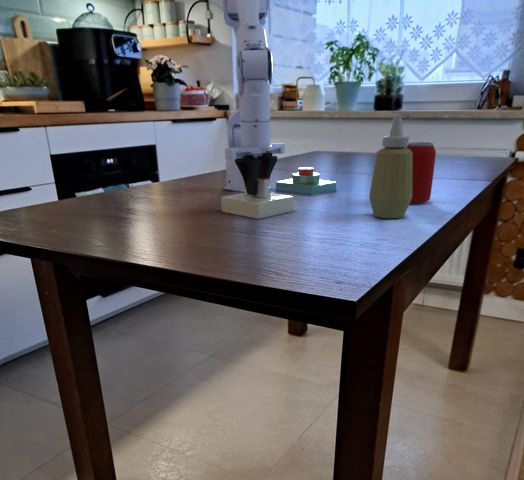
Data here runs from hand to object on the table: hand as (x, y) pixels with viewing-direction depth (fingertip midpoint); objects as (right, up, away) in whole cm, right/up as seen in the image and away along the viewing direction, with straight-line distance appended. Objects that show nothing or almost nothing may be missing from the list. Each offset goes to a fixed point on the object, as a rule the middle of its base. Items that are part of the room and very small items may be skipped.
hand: (256, 194), depth 106 cm
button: (+12, +11, +22) cm, 27 cm away
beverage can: (+34, 0, +8) cm, 35 cm away
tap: (0, 0, 0) cm, 0 cm away
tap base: (0, -3, +2) cm, 3 cm away
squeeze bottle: (+26, -6, -5) cm, 27 cm away
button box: (+12, +8, +23) cm, 27 cm away
